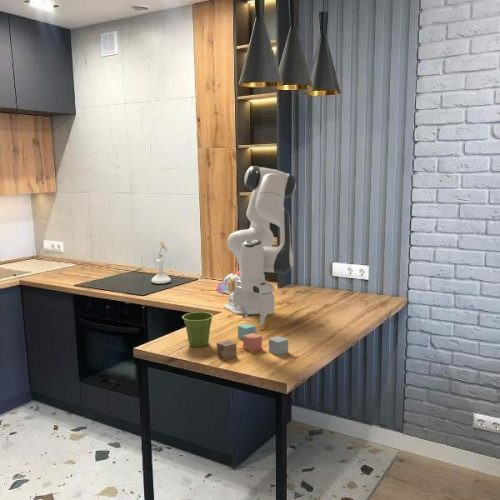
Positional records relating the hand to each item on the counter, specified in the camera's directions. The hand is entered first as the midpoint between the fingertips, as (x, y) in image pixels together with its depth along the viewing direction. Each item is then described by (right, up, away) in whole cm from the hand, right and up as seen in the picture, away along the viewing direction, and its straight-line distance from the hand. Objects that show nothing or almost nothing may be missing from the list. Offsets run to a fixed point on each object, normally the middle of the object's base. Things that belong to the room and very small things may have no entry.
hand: (253, 320), depth 189 cm
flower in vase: (-54, +7, +113) cm, 125 cm away
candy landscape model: (-9, +4, +95) cm, 96 cm away
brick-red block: (0, -11, +2) cm, 11 cm away
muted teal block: (-2, -9, +14) cm, 17 cm away
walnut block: (-10, -12, -6) cm, 16 cm away
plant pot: (-21, -10, +7) cm, 24 cm away
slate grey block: (+9, -11, -2) cm, 15 cm away
